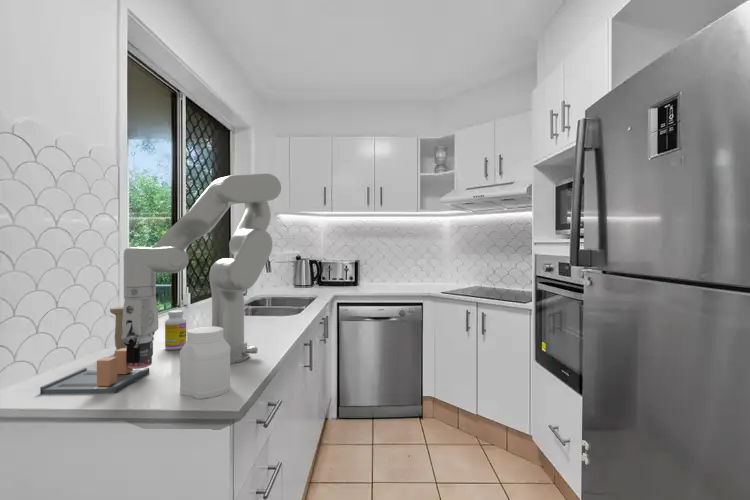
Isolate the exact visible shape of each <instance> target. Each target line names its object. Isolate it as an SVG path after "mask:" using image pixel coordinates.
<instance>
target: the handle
mask: <svg viewBox="0 0 750 500" xmlns="http://www.w3.org/2000/svg"><path fill="white" fill-rule="evenodd" d="M123 307H124V306H118V307H116V306H115V307H111V308H110V309H109V312H110V313H111V314H113V315H114V316H115V324H114V325H115V328H114V329H115V330H114V346H115V351H116V350H118V349H121V348H125V344H124V342H123V340H122V339H121V336H122V334H123V330H122V320H123Z"/></svg>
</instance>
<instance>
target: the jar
mask: <svg viewBox="0 0 750 500" xmlns="http://www.w3.org/2000/svg"><path fill="white" fill-rule="evenodd" d="M230 352H231V348H230V346H229V344H228V343H227V342H226V340H225V339H224V337H223V328H222V327H212V326H199V327H194V328H191V329H188V330H186V343H185V345H184V346H183V348H182V349H180V351H179V368H180V369H179V378H180V381H179V382H180V383H179V386H180V387H179V394H180V395H183V396H189V397H192V398H194V399H196V400H204V399H209V398H211V399H212V398H215V397H218V396H222V395H224V394H226V393H228V392H229V391H230V389H231V388H232V387H231V386H232V385H231V384H232V383H231V363H230ZM221 394H222V395H221Z"/></svg>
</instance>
